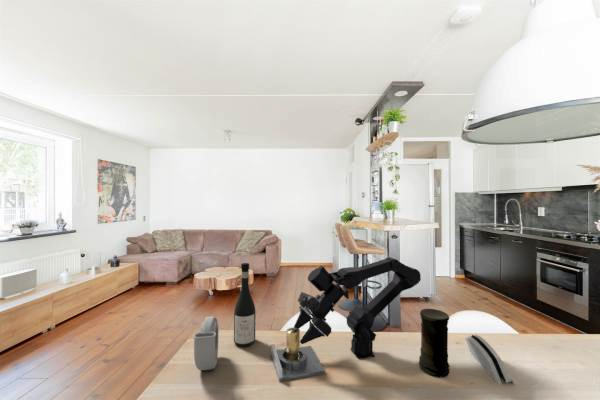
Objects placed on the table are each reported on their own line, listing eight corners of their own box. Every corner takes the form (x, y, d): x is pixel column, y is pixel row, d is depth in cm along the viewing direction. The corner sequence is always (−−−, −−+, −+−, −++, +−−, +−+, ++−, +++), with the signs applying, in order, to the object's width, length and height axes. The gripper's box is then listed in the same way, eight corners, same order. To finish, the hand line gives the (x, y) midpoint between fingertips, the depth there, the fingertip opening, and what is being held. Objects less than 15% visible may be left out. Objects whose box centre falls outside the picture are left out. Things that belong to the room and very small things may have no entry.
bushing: (294, 355, 94) (294, 325, 94) (302, 361, 90) (302, 330, 90) (283, 360, 91) (283, 329, 91) (291, 366, 87) (291, 334, 87)
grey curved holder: (202, 352, 97) (203, 310, 97) (221, 351, 98) (222, 309, 98) (192, 384, 80) (192, 333, 80) (215, 382, 81) (215, 331, 81)
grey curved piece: (516, 385, 80) (504, 353, 81) (500, 389, 81) (487, 357, 81) (485, 354, 97) (475, 327, 97) (471, 357, 98) (461, 330, 98)
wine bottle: (255, 347, 101) (255, 265, 101) (233, 348, 100) (233, 266, 100) (255, 336, 109) (255, 260, 109) (234, 337, 108) (235, 261, 108)
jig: (310, 348, 100) (310, 339, 100) (324, 373, 85) (324, 362, 85) (271, 354, 96) (271, 344, 96) (279, 381, 82) (279, 370, 82)
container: (424, 357, 95) (425, 305, 95) (453, 369, 88) (453, 313, 88) (414, 368, 88) (414, 313, 88) (444, 382, 82) (444, 322, 82)
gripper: (304, 277, 101) (275, 310, 98) (321, 293, 83) (286, 334, 80) (324, 296, 103) (296, 329, 101) (345, 316, 85) (312, 357, 83)
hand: (297, 336), depth 91 cm, fingers open, 9 cm apart
